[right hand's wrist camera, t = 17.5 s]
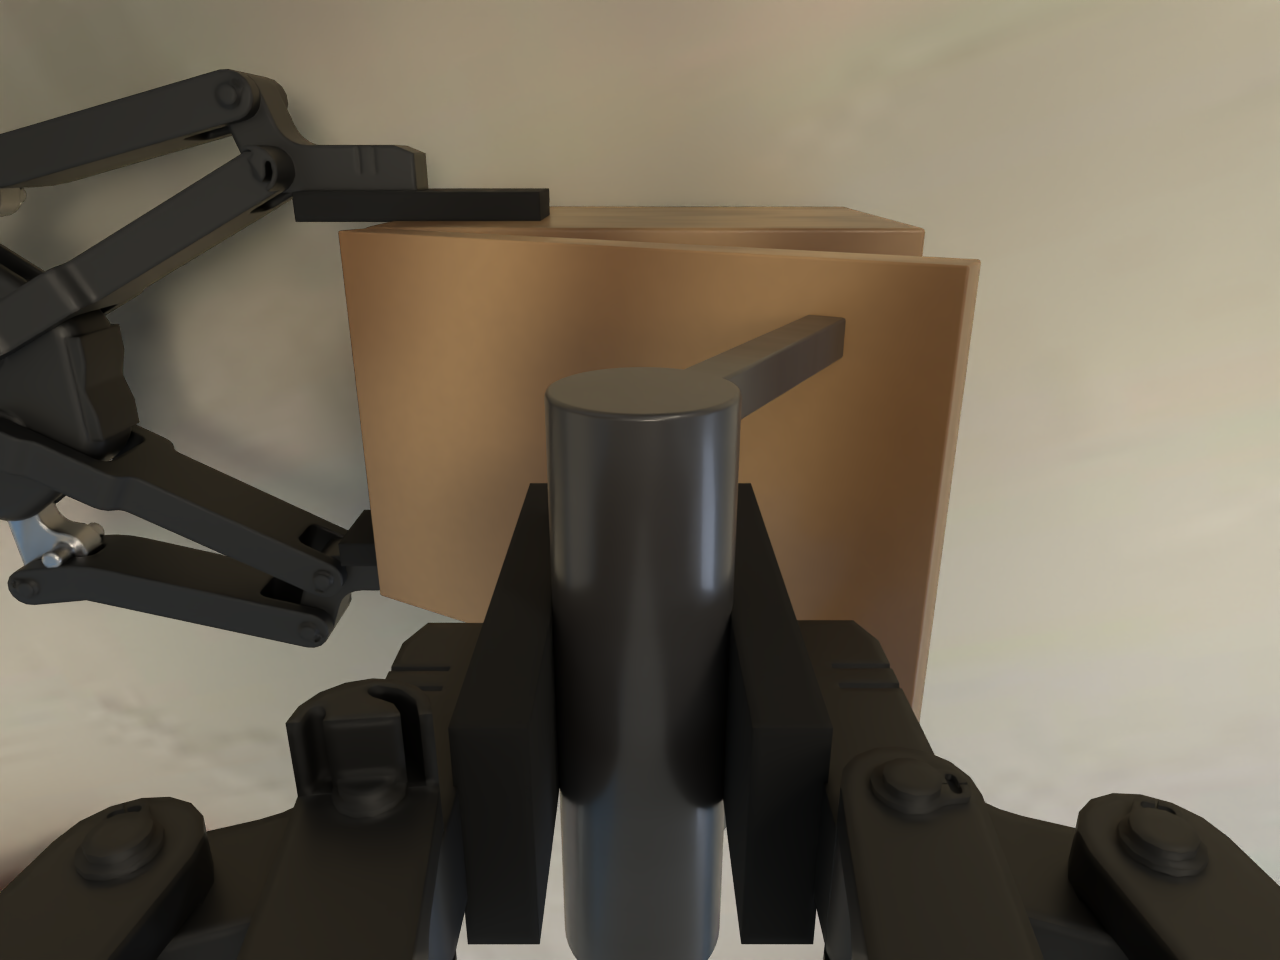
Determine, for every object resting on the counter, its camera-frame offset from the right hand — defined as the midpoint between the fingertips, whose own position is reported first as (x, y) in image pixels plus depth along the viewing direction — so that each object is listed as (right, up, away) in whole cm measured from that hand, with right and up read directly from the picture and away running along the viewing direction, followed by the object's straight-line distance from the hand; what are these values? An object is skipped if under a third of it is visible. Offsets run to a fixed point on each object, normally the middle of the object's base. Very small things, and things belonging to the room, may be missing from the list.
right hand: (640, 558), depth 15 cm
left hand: (-3, +4, +11) cm, 12 cm away
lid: (0, +2, +5) cm, 5 cm away
